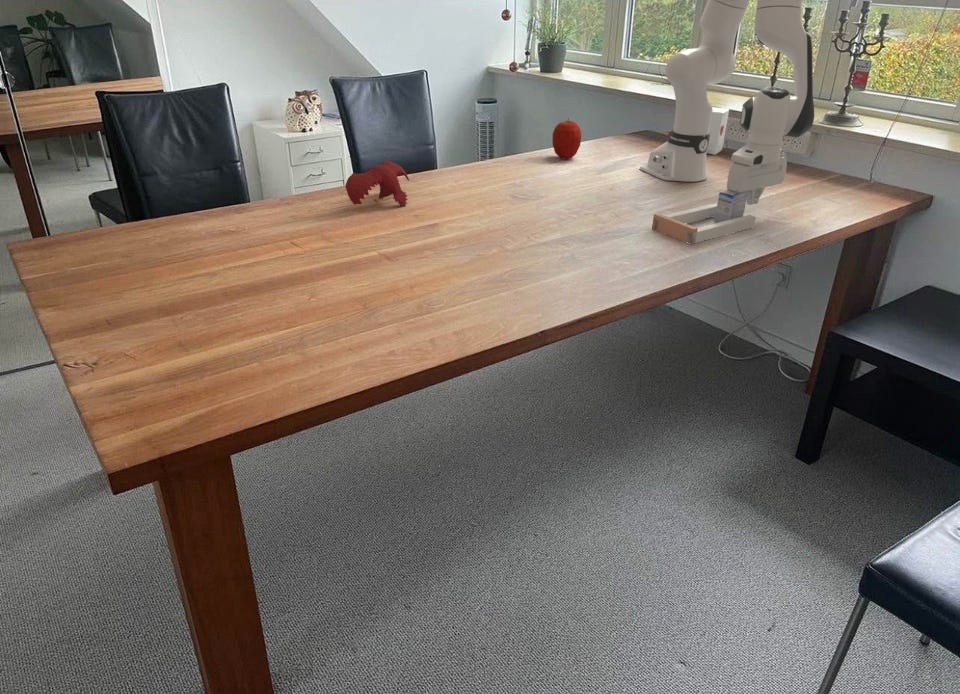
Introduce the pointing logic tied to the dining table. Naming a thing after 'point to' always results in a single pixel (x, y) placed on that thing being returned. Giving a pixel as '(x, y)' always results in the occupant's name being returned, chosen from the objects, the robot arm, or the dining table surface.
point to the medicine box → (730, 205)
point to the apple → (566, 139)
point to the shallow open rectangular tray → (690, 234)
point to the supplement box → (717, 130)
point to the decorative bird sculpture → (377, 175)
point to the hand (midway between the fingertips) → (752, 203)
